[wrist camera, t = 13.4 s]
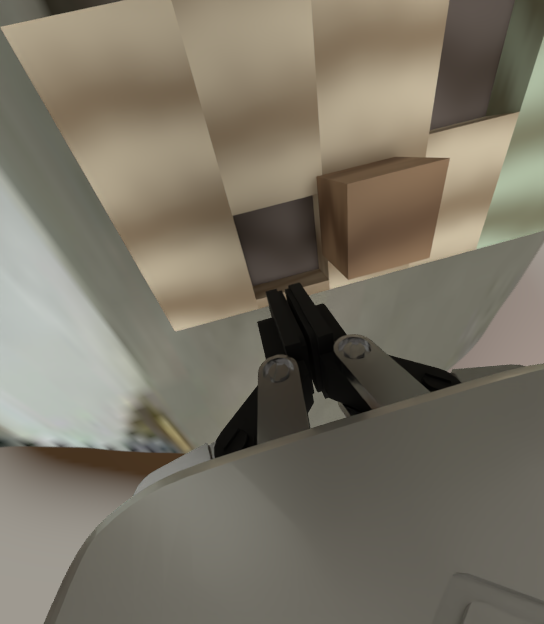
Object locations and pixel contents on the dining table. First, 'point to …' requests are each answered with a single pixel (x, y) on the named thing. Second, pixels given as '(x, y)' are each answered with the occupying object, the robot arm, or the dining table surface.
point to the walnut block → (380, 213)
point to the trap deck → (288, 127)
